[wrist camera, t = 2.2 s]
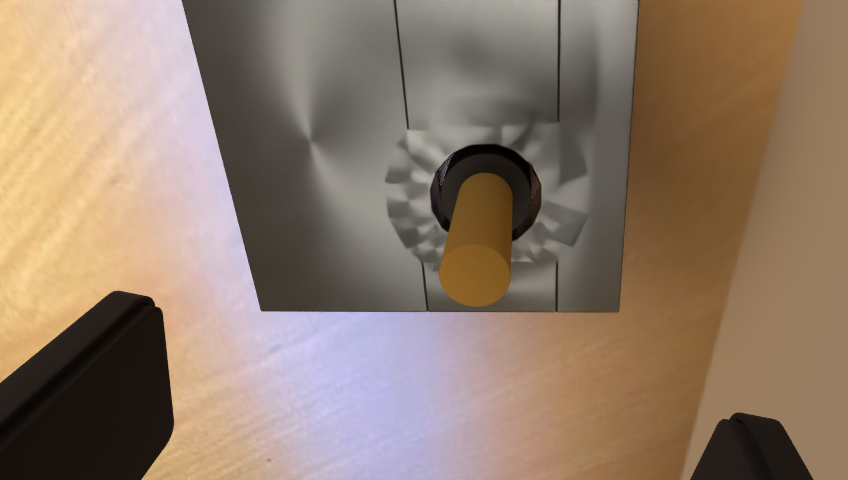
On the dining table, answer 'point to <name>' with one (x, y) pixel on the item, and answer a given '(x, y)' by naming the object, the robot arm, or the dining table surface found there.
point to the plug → (482, 221)
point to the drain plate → (418, 142)
